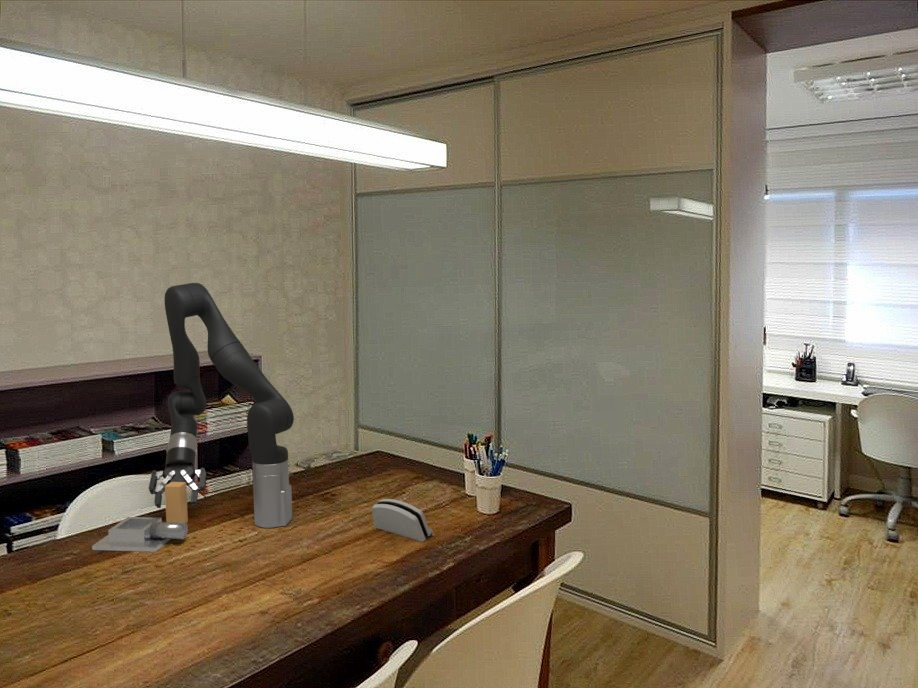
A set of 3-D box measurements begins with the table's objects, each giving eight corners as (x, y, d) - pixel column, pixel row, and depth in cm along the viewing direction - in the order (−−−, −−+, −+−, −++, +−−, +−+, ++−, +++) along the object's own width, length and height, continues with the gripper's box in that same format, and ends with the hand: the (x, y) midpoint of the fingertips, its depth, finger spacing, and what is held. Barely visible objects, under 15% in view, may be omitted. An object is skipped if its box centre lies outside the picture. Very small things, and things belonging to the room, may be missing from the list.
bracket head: (195, 533, 184) (194, 514, 184) (173, 552, 172) (172, 532, 172) (118, 531, 186) (117, 512, 185) (92, 549, 174) (90, 530, 173)
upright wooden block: (187, 521, 193) (186, 482, 191) (181, 526, 189) (179, 486, 187) (173, 521, 193) (171, 481, 191) (166, 526, 189) (164, 486, 187)
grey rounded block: (435, 535, 183) (427, 504, 179) (424, 547, 180) (415, 515, 176) (386, 521, 193) (377, 491, 189) (375, 532, 189) (366, 501, 185)
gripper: (151, 446, 194) (144, 501, 185) (206, 444, 197) (201, 498, 187) (156, 460, 200) (149, 514, 190) (209, 457, 203) (205, 510, 193)
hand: (175, 506), depth 189 cm, fingers open, 8 cm apart
